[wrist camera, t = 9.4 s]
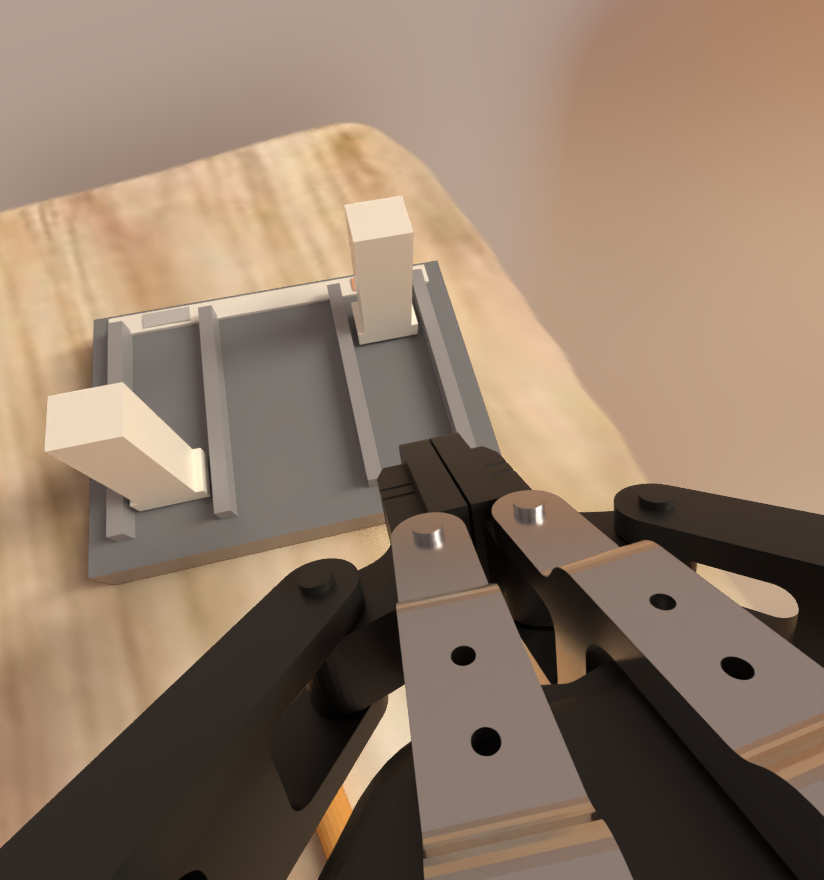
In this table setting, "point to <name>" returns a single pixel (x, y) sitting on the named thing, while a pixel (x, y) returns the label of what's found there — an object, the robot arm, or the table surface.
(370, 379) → the switch box
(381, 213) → the far tab
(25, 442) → the table surface
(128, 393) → the near tab
